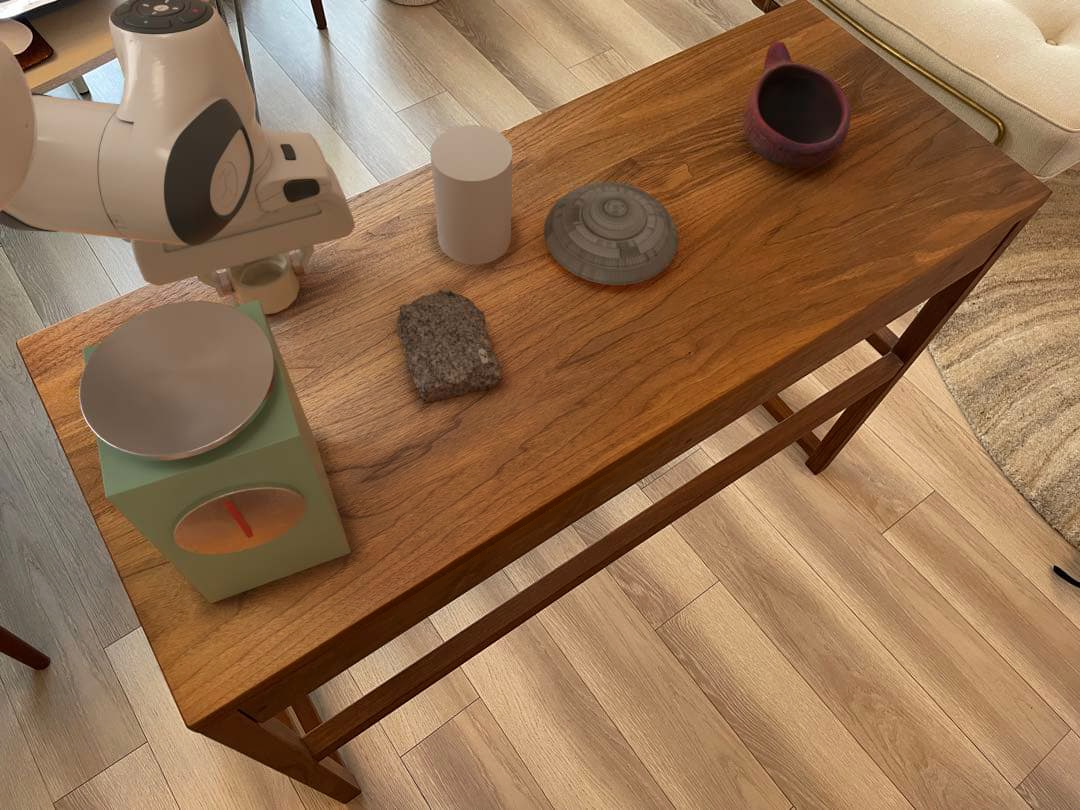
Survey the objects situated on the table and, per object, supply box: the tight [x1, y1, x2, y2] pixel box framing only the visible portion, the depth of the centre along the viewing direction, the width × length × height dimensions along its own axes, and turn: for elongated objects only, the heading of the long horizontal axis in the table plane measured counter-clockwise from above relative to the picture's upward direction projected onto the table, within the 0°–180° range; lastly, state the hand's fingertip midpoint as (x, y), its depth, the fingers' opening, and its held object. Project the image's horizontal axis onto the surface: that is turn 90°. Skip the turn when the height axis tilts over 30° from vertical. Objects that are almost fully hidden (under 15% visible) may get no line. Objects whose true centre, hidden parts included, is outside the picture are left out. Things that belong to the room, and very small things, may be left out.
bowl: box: [742, 40, 852, 169], centre depth 97 cm, size 16×13×8 cm
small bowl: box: [224, 252, 300, 315], centre depth 82 cm, size 6×6×4 cm
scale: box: [78, 300, 352, 604], centre depth 61 cm, size 12×13×23 cm
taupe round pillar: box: [430, 124, 514, 266], centre depth 84 cm, size 8×8×12 cm
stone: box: [396, 289, 502, 404], centre depth 79 cm, size 12×9×4 cm
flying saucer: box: [543, 181, 679, 286], centre depth 88 cm, size 15×15×6 cm
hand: (264, 280), depth 82 cm, fingers closed on small bowl, 6 cm apart
